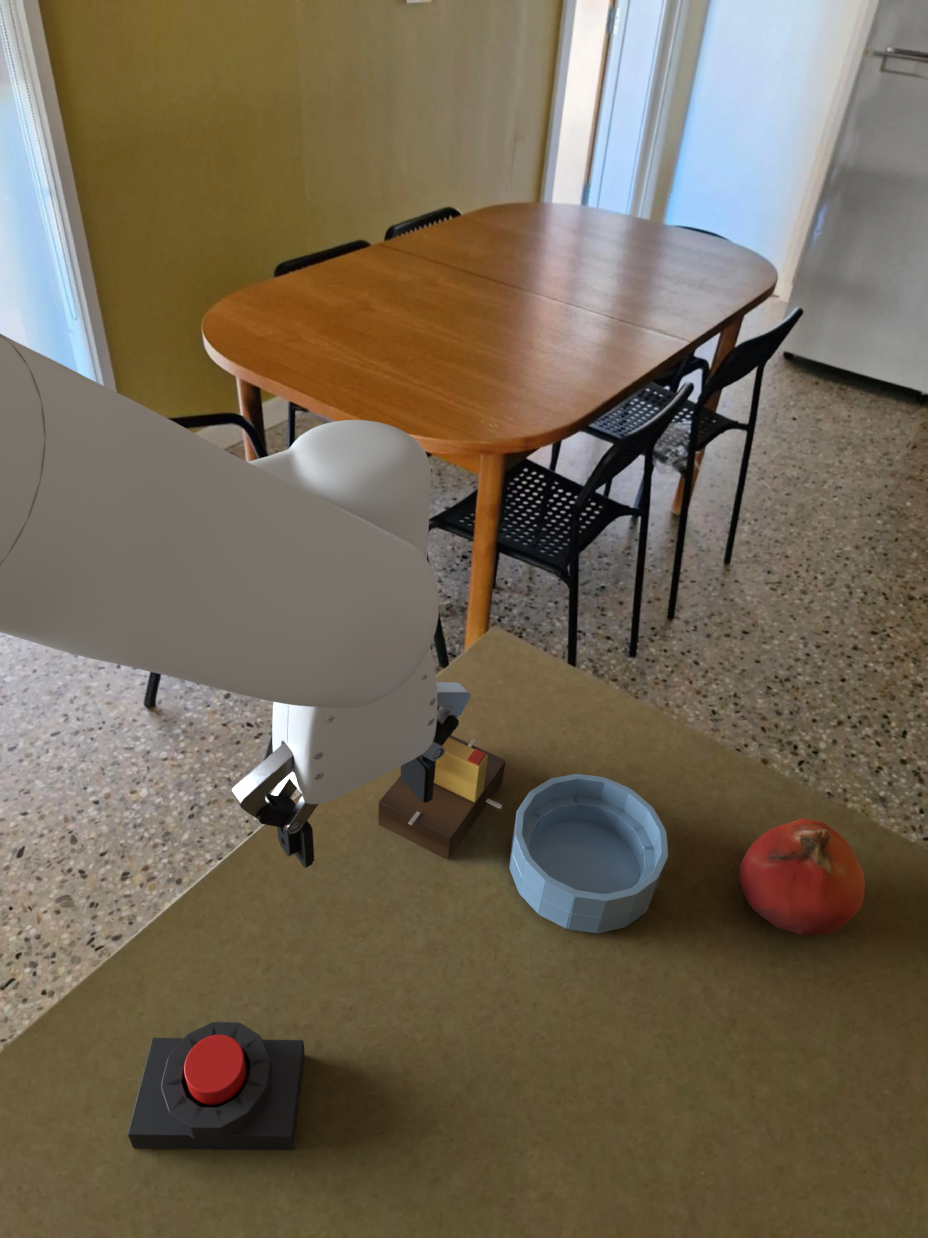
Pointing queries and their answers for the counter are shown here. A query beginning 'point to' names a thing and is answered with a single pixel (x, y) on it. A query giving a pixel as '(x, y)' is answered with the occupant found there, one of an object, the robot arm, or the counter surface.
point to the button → (215, 1069)
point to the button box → (237, 1124)
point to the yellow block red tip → (461, 770)
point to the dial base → (439, 810)
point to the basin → (587, 853)
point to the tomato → (803, 878)
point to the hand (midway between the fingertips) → (359, 819)
